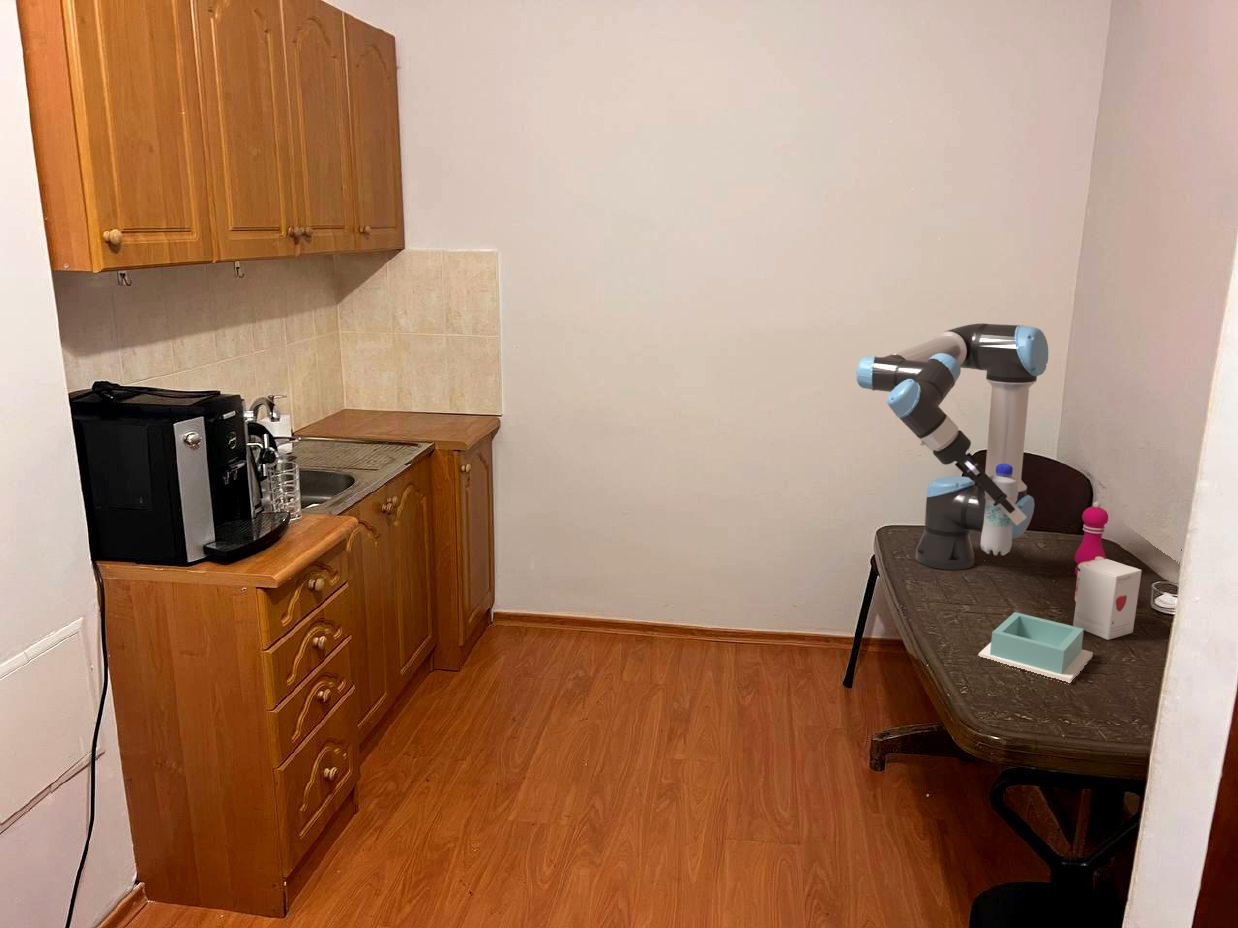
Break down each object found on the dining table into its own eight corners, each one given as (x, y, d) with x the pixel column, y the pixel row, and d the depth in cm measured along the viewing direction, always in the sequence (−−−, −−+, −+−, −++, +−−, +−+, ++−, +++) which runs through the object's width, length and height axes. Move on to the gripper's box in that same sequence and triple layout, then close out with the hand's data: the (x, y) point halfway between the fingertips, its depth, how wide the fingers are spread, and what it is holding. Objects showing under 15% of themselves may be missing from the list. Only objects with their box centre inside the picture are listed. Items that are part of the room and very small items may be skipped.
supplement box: (1108, 641, 202) (1116, 576, 198) (1071, 626, 210) (1079, 563, 206) (1134, 632, 206) (1143, 569, 202) (1098, 618, 214) (1105, 557, 210)
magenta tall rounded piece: (1097, 570, 244) (1106, 498, 240) (1108, 580, 237) (1117, 505, 233) (1068, 570, 245) (1077, 497, 240) (1078, 579, 238) (1087, 505, 233)
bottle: (1010, 549, 205) (1020, 461, 200) (1012, 558, 199) (1022, 468, 194) (978, 545, 207) (987, 459, 203) (978, 555, 201) (988, 466, 197)
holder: (978, 658, 193) (980, 631, 192) (1004, 634, 205) (1006, 608, 204) (1069, 684, 182) (1073, 655, 181) (1092, 657, 194) (1095, 629, 192)
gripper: (922, 442, 209) (989, 514, 211) (942, 462, 190) (1015, 541, 192) (948, 420, 207) (1016, 493, 209) (971, 438, 188) (1045, 517, 190)
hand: (1016, 515), depth 201 cm, fingers closed on bottle, 7 cm apart
